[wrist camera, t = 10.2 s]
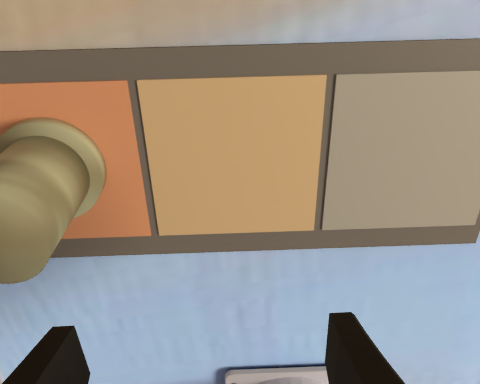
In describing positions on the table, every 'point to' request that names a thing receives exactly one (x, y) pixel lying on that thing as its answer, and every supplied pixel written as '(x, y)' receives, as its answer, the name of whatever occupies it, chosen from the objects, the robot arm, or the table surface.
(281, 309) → the table surface
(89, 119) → the game board
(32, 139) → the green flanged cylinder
